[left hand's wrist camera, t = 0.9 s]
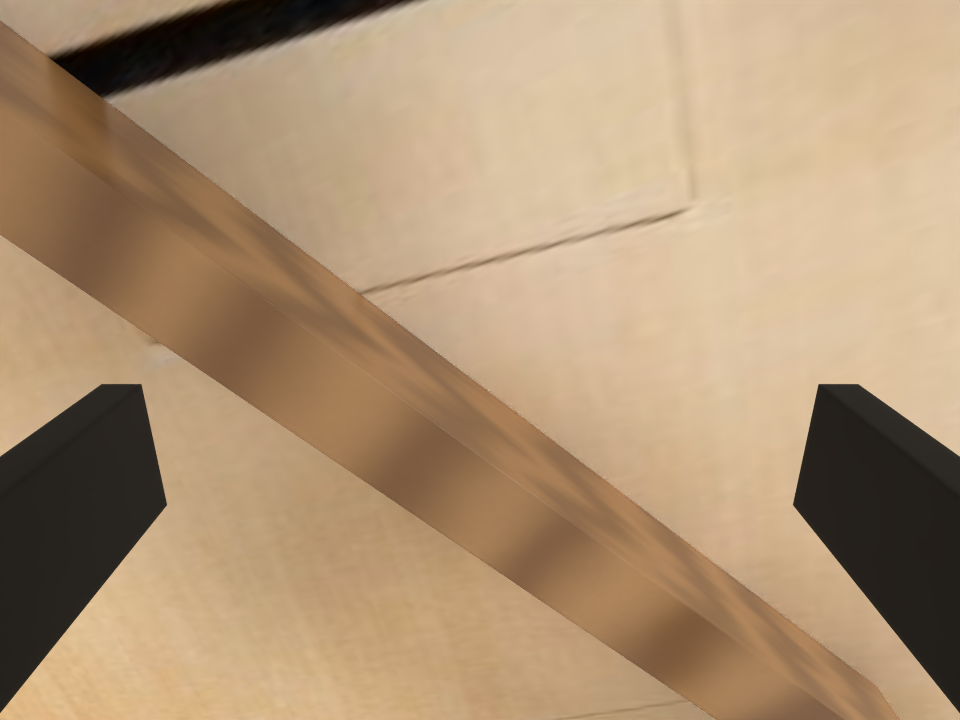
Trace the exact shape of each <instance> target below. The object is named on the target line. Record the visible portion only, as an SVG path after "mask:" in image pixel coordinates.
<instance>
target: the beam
mask: <svg viewBox="0 0 960 720" xmlns="http://www.w3.org/2000/svg"><path fill="white" fill-rule="evenodd" d="M0 235H2V236H3V237H5V238H6V239H8V240H9V241H11V242H12V243H14V244H15V245H16V246H18V247H19V248H21V249H22V250H24V251H25V252H27V253H28V254H30V255H31V256H33V257H34V258H36V259H37V260H39V261H40V262H42V263H43V264H45V265H46V266H47V267H49V268H50V269H52V270H53V271H55V272H56V273H58V274H59V275H61V276H62V277H64V278H65V279H67V280H68V281H70V282H71V283H73V284H74V285H76V286H77V287H79V288H80V289H81V290H83V291H84V292H86V293H87V294H89V295H90V296H92V297H93V298H95V299H96V300H98V301H99V302H101V303H102V304H104V305H105V306H107V307H108V308H110V309H111V310H113V311H114V312H115V313H117V314H118V315H120V316H121V317H123V318H124V319H126V320H127V321H129V322H130V323H132V324H133V325H135V326H136V327H138V328H139V329H141V330H142V331H144V332H145V333H146V334H148V335H149V336H151V337H152V338H154V339H155V340H157V341H158V342H160V343H161V344H163V345H164V346H166V347H167V348H169V349H170V350H172V351H173V352H175V353H176V354H178V355H179V356H180V357H182V358H183V359H185V360H186V361H188V362H189V363H191V364H192V365H194V366H195V367H197V368H198V369H200V370H201V371H203V372H204V373H206V374H207V375H209V376H210V377H211V378H213V379H214V380H216V381H217V382H219V383H220V384H222V385H223V386H225V387H226V388H228V389H229V390H231V391H232V392H234V393H235V394H237V395H238V396H240V397H241V398H243V399H244V400H245V401H247V402H248V403H250V404H251V405H253V406H254V407H256V408H257V409H259V410H260V411H262V412H263V413H265V414H266V415H268V416H269V417H271V418H272V419H274V420H275V421H276V422H278V423H279V424H281V425H282V426H284V427H285V428H287V429H288V430H290V431H291V432H293V433H294V434H296V435H297V436H299V437H300V438H302V439H303V440H305V441H306V442H308V443H309V444H310V445H312V446H313V447H315V448H316V449H318V450H319V451H321V452H322V453H324V454H325V455H327V456H328V457H330V458H331V459H333V460H334V461H336V462H337V463H339V464H340V465H342V466H343V467H344V468H346V469H347V470H349V471H350V472H352V473H353V474H355V475H356V476H358V477H359V478H361V479H362V480H364V481H365V482H367V483H368V484H370V485H371V486H373V487H374V488H375V489H377V490H378V491H380V492H381V493H383V494H384V495H386V496H387V497H389V498H390V499H392V500H393V501H395V502H396V503H398V504H399V505H401V506H402V507H404V508H405V509H407V510H408V511H409V512H411V513H412V514H414V515H415V516H417V517H418V518H420V519H421V520H423V521H424V522H426V523H427V524H429V525H430V526H432V527H433V528H435V529H436V530H438V531H439V532H440V533H442V534H443V535H445V536H446V537H448V538H449V539H451V540H452V541H454V542H455V543H457V544H458V545H460V546H461V547H463V548H464V549H466V550H467V551H469V552H470V553H472V554H473V555H474V556H476V557H477V558H479V559H480V560H482V561H483V562H485V563H486V564H488V565H489V566H491V567H492V568H494V569H495V570H497V571H498V572H500V573H501V574H503V575H504V576H505V577H507V578H508V579H510V580H511V581H513V582H514V583H516V584H517V585H519V586H520V587H522V588H523V589H525V590H526V591H528V592H529V593H531V594H532V595H534V596H535V597H537V598H538V599H539V600H541V601H542V602H544V603H545V604H547V605H548V606H550V607H551V608H553V609H554V610H556V611H557V612H559V613H560V614H562V615H563V616H565V617H566V618H568V619H569V620H571V621H572V622H573V623H575V624H576V625H578V626H579V627H581V628H582V629H584V630H585V631H587V632H588V633H590V634H591V635H593V636H594V637H596V638H597V639H599V640H600V641H602V642H603V643H604V644H606V645H607V646H609V647H610V648H612V649H613V650H615V651H616V652H618V653H619V654H621V655H622V656H624V657H625V658H627V659H628V660H630V661H631V662H633V663H634V664H636V665H637V666H638V667H640V668H641V669H643V670H644V671H646V672H647V673H649V674H650V675H652V676H653V677H655V678H656V679H658V680H659V681H661V682H662V683H664V684H665V685H667V686H668V687H669V688H671V689H672V690H674V691H675V692H677V693H678V694H680V695H681V696H683V697H684V698H686V699H687V700H689V701H690V702H692V703H693V704H695V705H696V706H698V707H699V708H701V709H702V710H703V711H705V712H706V713H708V714H709V715H711V716H712V717H714V718H715V719H717V720H899V718H898V717H897V715H896V714H895V713H894V711H893V710H892V708H891V707H890V705H889V704H888V702H887V701H886V699H885V698H884V697H883V695H882V694H881V692H880V691H879V689H878V688H877V687H876V686H875V685H873V684H872V683H871V682H869V681H868V680H867V679H866V678H864V677H863V676H862V675H860V674H859V673H858V672H856V671H855V670H854V669H852V668H851V667H850V666H848V665H847V664H846V663H844V662H843V661H842V660H841V659H839V658H838V657H837V656H835V655H834V654H833V653H831V652H830V651H829V650H827V649H826V648H825V647H823V646H822V645H821V644H819V643H818V642H817V641H816V640H814V639H813V638H812V637H810V636H809V635H808V634H806V633H805V632H804V631H802V630H801V629H800V628H798V627H797V626H796V625H794V624H793V623H792V622H791V621H789V620H788V619H787V618H785V617H784V616H783V615H781V614H780V613H779V612H777V611H776V610H775V609H773V608H772V607H771V606H769V605H768V604H767V603H766V602H764V601H763V600H762V599H760V598H759V597H758V596H756V595H755V594H754V593H752V592H751V591H750V590H748V589H747V588H746V587H744V586H743V585H742V584H741V583H739V582H738V581H737V580H735V579H734V578H733V577H731V576H730V575H729V574H727V573H726V572H725V571H723V570H722V569H721V568H719V567H718V566H717V565H716V564H714V563H713V562H712V561H710V560H709V559H708V558H706V557H705V556H704V555H702V554H701V553H700V552H698V551H697V550H696V549H694V548H693V547H692V546H690V545H689V544H688V543H687V542H685V541H684V540H683V539H681V538H680V537H679V536H677V535H676V534H675V533H673V532H672V531H671V530H669V529H668V528H667V527H665V526H664V525H663V524H662V523H660V522H659V521H658V520H656V519H655V518H654V517H652V516H651V515H650V514H648V513H647V512H646V511H644V510H643V509H642V508H640V507H639V506H638V505H637V504H635V503H634V502H633V501H631V500H630V499H629V498H627V497H626V496H625V495H623V494H622V493H621V492H619V491H618V490H617V489H615V488H614V487H613V486H612V485H610V484H609V483H608V482H606V481H605V480H604V479H602V478H601V477H600V476H598V475H597V474H596V473H594V472H593V471H592V470H590V469H589V468H588V467H587V466H585V465H584V464H583V463H581V462H580V461H579V460H577V459H576V458H575V457H573V456H572V455H571V454H569V453H568V452H567V451H565V450H564V449H563V448H562V447H560V446H559V445H558V444H556V443H555V442H554V441H552V440H551V439H550V438H548V437H547V436H546V435H544V434H543V433H542V432H540V431H539V430H538V429H537V428H535V427H534V426H533V425H531V424H530V423H529V422H527V421H526V420H525V419H523V418H522V417H521V416H519V415H518V414H517V413H515V412H514V411H513V410H512V409H510V408H509V407H508V406H506V405H505V404H504V403H502V402H501V401H500V400H498V399H497V398H496V397H494V396H493V395H492V394H490V393H489V392H488V391H487V390H485V389H484V388H483V387H481V386H480V385H479V384H477V383H476V382H475V381H473V380H472V379H471V378H469V377H468V376H467V375H465V374H464V373H463V372H462V371H460V370H459V369H458V368H456V367H455V366H454V365H452V364H451V363H450V362H448V361H447V360H446V359H444V358H443V357H442V356H440V355H439V354H438V353H437V352H435V351H434V350H433V349H431V348H430V347H429V346H427V345H426V344H425V343H423V342H422V341H421V340H419V339H418V338H417V337H415V336H414V335H413V334H412V333H410V332H409V331H408V330H406V329H405V328H404V327H402V326H401V325H400V324H398V323H397V322H396V321H394V320H393V319H392V318H390V317H389V316H388V315H387V314H385V313H384V312H383V311H381V310H380V309H379V308H377V307H376V306H375V305H373V304H372V303H371V302H369V301H368V300H367V299H365V298H364V297H363V296H362V295H360V294H359V293H358V292H356V291H355V290H354V289H352V288H351V287H350V286H348V285H347V284H346V283H344V282H343V281H342V280H340V279H339V278H338V277H337V276H335V275H334V274H333V273H331V272H330V271H329V270H327V269H326V268H325V267H323V266H322V265H321V264H319V263H318V262H317V261H315V260H314V259H313V258H312V257H310V256H309V255H308V254H306V253H305V252H304V251H302V250H301V249H300V248H298V247H297V246H296V245H294V244H293V243H292V242H290V241H289V240H288V239H287V238H285V237H284V236H283V235H281V234H280V233H279V232H277V231H276V230H275V229H273V228H272V227H271V226H269V225H268V224H267V223H265V222H264V221H263V220H262V219H260V218H259V217H258V216H256V215H255V214H254V213H252V212H251V211H250V210H248V209H247V208H246V207H244V206H243V205H242V204H240V203H239V202H238V201H237V200H235V199H234V198H233V197H231V196H230V195H229V194H227V193H226V192H225V191H223V190H222V189H221V188H219V187H218V186H217V185H215V184H214V183H213V182H212V181H210V180H209V179H208V178H206V177H205V176H204V175H202V174H201V173H200V172H198V171H197V170H196V169H194V168H193V167H192V166H190V165H189V164H188V163H187V162H185V161H184V160H183V159H181V158H180V157H179V156H177V155H176V154H175V153H173V152H172V151H171V150H169V149H168V148H167V147H165V146H164V145H163V144H161V143H160V142H159V141H158V140H156V139H155V138H154V137H152V136H151V135H150V134H148V133H147V132H146V131H144V130H143V129H142V128H140V127H139V126H138V125H136V124H135V123H134V122H133V121H131V120H130V119H129V118H127V117H126V116H125V115H123V114H122V113H121V112H119V111H118V110H117V109H115V108H114V107H113V106H111V105H110V104H109V103H108V102H106V101H105V100H104V99H102V98H101V97H100V96H98V95H97V94H96V93H94V92H93V91H92V90H90V89H89V88H88V87H86V86H85V85H84V84H83V83H81V82H80V81H79V80H77V79H76V78H75V77H73V76H72V75H71V74H69V73H68V72H67V71H65V70H64V69H63V68H61V67H60V66H59V65H58V64H56V63H55V62H54V61H52V60H51V59H50V58H48V57H47V56H46V55H44V54H43V53H42V52H40V51H39V50H38V49H36V48H35V47H34V46H33V45H31V44H30V43H29V42H27V41H26V40H25V39H23V38H22V37H21V36H19V35H18V34H17V33H15V32H14V31H13V30H11V29H10V28H9V27H8V26H6V25H5V24H4V23H2V22H1V21H0Z"/></svg>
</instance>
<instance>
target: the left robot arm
mask: <svg viewBox="0 0 960 720" xmlns="http://www.w3.org/2000/svg"><path fill="white" fill-rule="evenodd" d="M166 506H167V503H166V498H165V493H164V489H163V484H162V479H161V474H160V470H159V465H158V460H157V456H156V451H155V446H154V442H153V437H152V432H151V427H150V423H149V418H148V413H147V409H146V404H145V399H144V394H143V390H142V385H141V384H101V385H100V386H99V387H97V388H96V389H94V390H93V391H92V392H90V393H89V394H87V395H86V396H85V397H83V398H82V399H80V400H79V401H78V402H76V403H75V404H73V405H72V406H71V407H69V408H68V409H66V410H65V411H64V412H62V413H61V414H59V415H58V416H57V417H55V418H54V419H52V420H51V421H50V422H48V423H47V424H45V425H44V426H43V427H41V428H40V429H38V430H37V431H36V432H34V433H33V434H31V435H30V436H29V437H27V438H26V439H24V440H23V441H22V442H20V443H19V444H17V445H16V446H15V447H13V448H12V449H10V450H9V451H8V452H6V453H5V454H3V455H2V456H1V457H0V713H1V711H2V710H3V709H4V708H5V706H6V705H7V704H8V703H9V701H10V700H11V699H12V698H13V696H14V695H15V694H16V693H17V691H18V690H19V689H20V688H21V686H22V685H23V684H24V683H25V681H26V680H27V679H28V678H29V676H30V675H31V674H32V673H33V671H34V670H35V669H36V668H37V666H38V665H39V664H40V663H41V661H42V660H43V659H44V658H45V656H46V655H47V654H48V653H49V652H50V650H51V649H52V648H53V647H54V645H55V644H56V643H57V642H58V640H59V639H60V638H61V637H62V635H63V634H64V633H65V632H66V630H67V629H68V628H69V627H70V625H71V624H72V623H73V622H74V620H75V619H76V618H77V617H78V615H79V614H80V613H81V612H82V610H83V609H84V608H85V607H86V605H87V604H88V603H89V602H90V600H91V599H92V598H93V597H94V595H95V594H96V593H97V592H98V590H99V589H100V588H101V587H102V585H103V584H104V583H105V582H106V580H107V579H108V578H109V577H110V575H111V574H112V573H113V572H114V570H115V569H116V568H117V567H118V565H119V564H120V563H121V562H122V560H123V559H124V558H125V557H126V555H127V554H128V553H129V552H130V550H131V549H132V548H133V547H134V545H135V544H136V543H137V542H138V540H139V539H140V538H141V537H142V535H143V534H144V533H145V532H146V531H147V529H148V528H149V527H150V526H151V524H152V523H153V522H154V521H155V519H156V518H157V517H158V516H159V514H160V513H161V512H162V511H163V509H164V508H165V507H166ZM793 506H794V507H795V508H796V509H797V511H798V512H799V513H800V514H801V516H802V517H803V518H804V519H805V521H806V522H807V523H808V524H809V526H810V527H811V528H812V529H813V531H814V532H815V533H816V534H817V536H818V537H819V538H820V539H821V540H822V542H823V543H824V544H825V545H826V547H827V548H828V549H829V550H830V552H831V553H832V554H833V555H834V557H835V558H836V559H837V560H838V562H839V563H840V564H841V565H842V567H843V568H844V569H845V570H846V572H847V573H848V574H849V575H850V577H851V578H852V579H853V580H854V582H855V583H856V584H857V585H858V587H859V588H860V589H861V590H862V592H863V593H864V594H865V595H866V597H867V598H868V599H869V600H870V602H871V603H872V604H873V605H874V607H875V608H876V609H877V610H878V612H879V613H880V614H881V615H882V617H883V618H884V619H885V620H886V622H887V623H888V624H889V625H890V627H891V628H892V629H893V630H894V632H895V633H896V634H897V635H898V637H899V638H900V639H901V640H902V642H903V643H904V644H905V645H906V647H907V648H908V649H909V650H910V652H911V653H912V654H913V655H914V657H915V658H916V659H917V660H918V661H919V663H920V664H921V665H922V666H923V668H924V669H925V670H926V671H927V673H928V674H929V675H930V676H931V678H932V679H933V680H934V681H935V683H936V684H937V685H938V686H939V688H940V689H941V690H942V691H943V693H944V694H945V695H946V696H947V698H948V699H949V700H950V701H951V703H952V704H953V705H954V706H955V708H956V709H957V710H958V711H959V713H960V457H959V456H958V455H957V454H955V453H954V452H952V451H951V450H950V449H948V448H947V447H945V446H944V445H943V444H941V443H940V442H938V441H937V440H936V439H934V438H933V437H931V436H930V435H929V434H927V433H926V432H924V431H923V430H922V429H920V428H919V427H917V426H916V425H915V424H913V423H912V422H910V421H909V420H908V419H906V418H905V417H903V416H902V415H901V414H899V413H898V412H896V411H895V410H894V409H892V408H891V407H889V406H888V405H887V404H885V403H884V402H882V401H881V400H880V399H878V398H877V397H875V396H874V395H873V394H871V393H870V392H868V391H867V390H866V389H864V388H863V387H861V386H860V385H859V384H819V385H818V390H817V394H816V399H815V404H814V409H813V413H812V418H811V423H810V427H809V432H808V437H807V441H806V446H805V451H804V456H803V460H802V465H801V470H800V474H799V479H798V484H797V489H796V493H795V498H794V503H793Z"/></svg>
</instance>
